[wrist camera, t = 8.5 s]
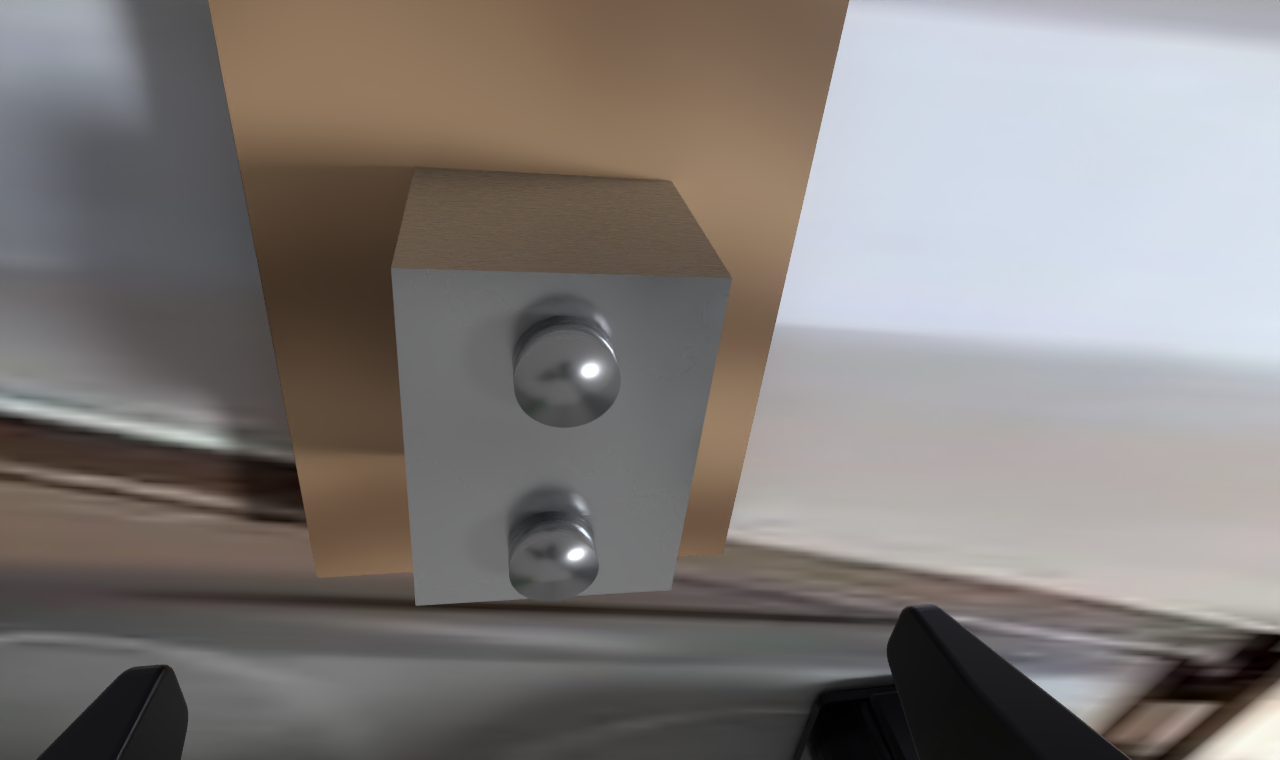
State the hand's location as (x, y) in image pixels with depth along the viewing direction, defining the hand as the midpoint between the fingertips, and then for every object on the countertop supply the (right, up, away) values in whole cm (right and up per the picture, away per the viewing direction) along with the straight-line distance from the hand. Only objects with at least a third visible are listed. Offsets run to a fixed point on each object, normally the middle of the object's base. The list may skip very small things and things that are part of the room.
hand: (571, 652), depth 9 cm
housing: (-1, +4, +7) cm, 9 cm away
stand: (-2, +6, +9) cm, 11 cm away
